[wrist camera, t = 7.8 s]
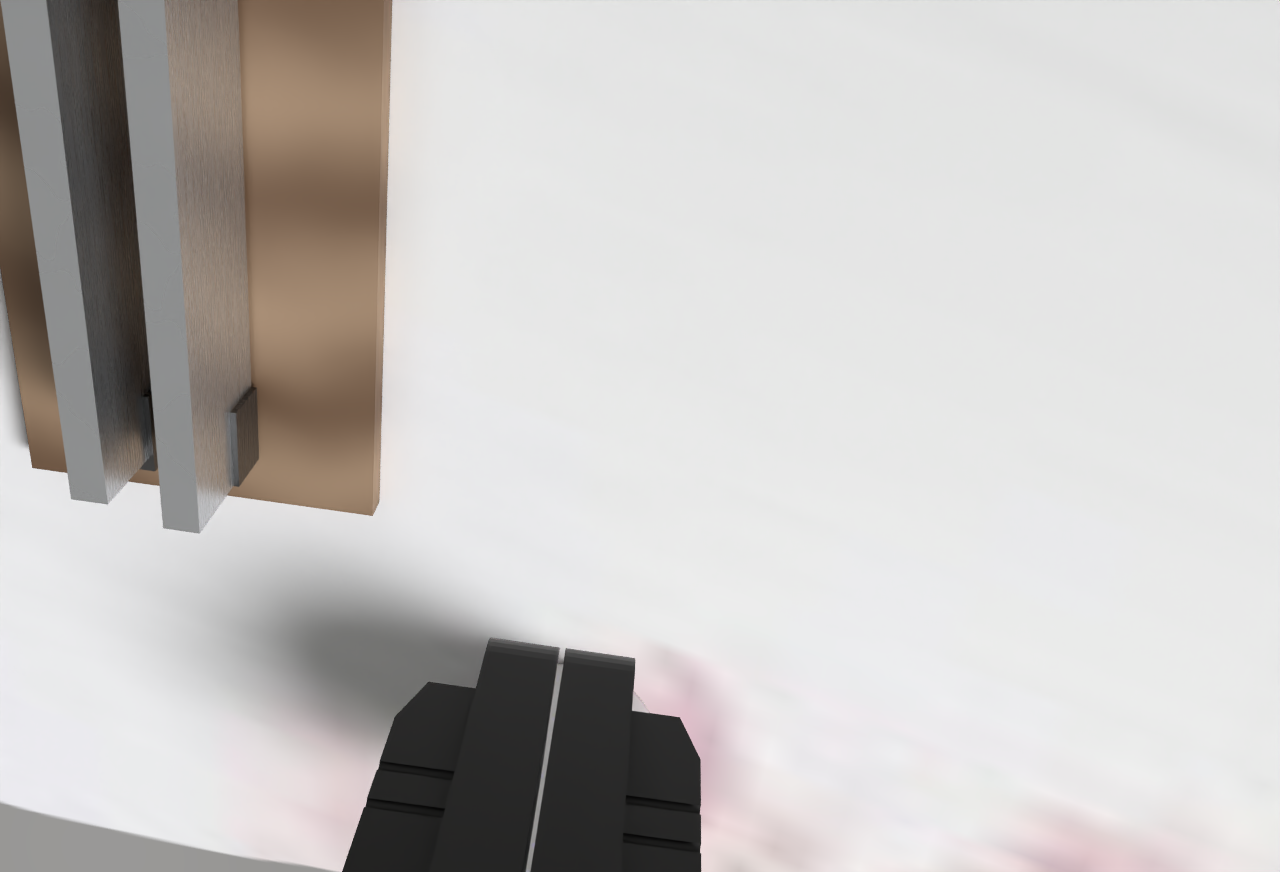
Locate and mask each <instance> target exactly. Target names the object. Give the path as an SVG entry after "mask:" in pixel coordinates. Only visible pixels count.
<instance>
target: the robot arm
mask: <svg viewBox="0 0 1280 872" xmlns="http://www.w3.org/2000/svg"><path fill="white" fill-rule="evenodd" d="M559 649H560V648H558V647H551V646H544V645H537V644H530V643H523V642H517V641H510V640H503V639H496V638H490V639H489V641H488V644H487V648H486V652H485V655H484V659H483V663H482V667H481V671H480V675H479V679H478V683H477V687H476V689H475V688H468V687H461V686H454V685H447V684H440V683H433V682H428V683H427V684H426V685H425V686H424V687H423V688H422V689H421V690H420V691H419V692H418V693H417V695H416V696H415V697H414V698H413V699H412V700H411V701H410V702H409V703H408V704H407V705H406V706H405V707H404V708H403V709H402V710H401V711H400V712H399V713H398V714H397V715H396V716H395V718H394V721H393V724H392V727H391V730H390V733H389V736H388V739H387V742H386V744H385V747H384V750H383V753H382V756H381V759H380V764H379V769H378V770H377V771H376V774H375V777H374V780H373V783H372V786H371V788H370V791H369V794H368V797H367V803H366V807H364V809H363V812H362V815H361V818H360V821H359V824H358V827H357V830H356V833H355V835H354V838H353V841H352V844H351V847H350V850H349V853H348V856H347V859H346V862H345V865H344V868H343V871H342V872H526V867H527V861H528V855H529V849H530V843H531V837H532V831H533V825H534V819H535V812H536V806H537V800H538V793H539V787H540V781H541V774H542V767H543V761H544V754H545V747H546V740H547V733H548V726H549V719H550V712H551V705H552V698H553V692H554V685H555V678H556V671H557V664H558V657H559ZM634 676H635V658H630V657H623V656H616V655H609V654H602V653H595V652H588V651H581V650H574V649H567V648H566V651H565V657H564V663H563V670H562V676H561V682H560V689H559V695H558V701H557V707H556V714H555V720H554V726H553V733H552V739H551V745H550V751H549V758H548V764H547V770H546V777H545V783H544V789H543V795H542V802H541V808H540V814H539V821H538V827H537V833H536V839H535V846H534V852H533V858H532V865H531V871H530V872H701V853H700V846H701V815H700V806H701V769H700V758H699V756H698V754H697V752H696V750H695V748H694V746H693V743H692V741H691V739H690V737H689V735H688V733H687V731H686V729H685V727H684V725H683V723H682V721H681V719H680V717H673V716H666V715H659V714H652V713H645V712H638V711H632V703H633V689H634Z"/></svg>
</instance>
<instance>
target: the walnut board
mask: <svg viewBox="0 0 1280 872" xmlns="http://www.w3.org/2000/svg"><path fill="white" fill-rule="evenodd" d="M238 21H239V49H240V78H241V107H242V135H243V164H244V192H245V221H246V249H247V278H248V306H249V335H250V364H251V387H256V388H257V407H258V438H259V460H258V461H257V463H256V464H255V465H254V467H253V468H252V470H251V471H250V472H249V474H248V475H247V477H246V478H245V479H244V481H243V482H242V484H241V485H240V487H237V486H233V488H232V489H231V490H230V492H229V493H228V496H235V497H243V498H250V499H257V500H264V501H271V502H278V503H285V504H292V505H299V506H306V507H313V508H321V509H328V510H335V511H342V512H349V513H356V514H363V515H370V516H373V514H374V512H375V510H376V508H377V505H378V503H379V490H380V451H381V412H382V374H383V335H384V296H385V257H386V218H387V179H388V140H389V101H390V62H391V23H392V0H238ZM0 269H1V275H2V281H3V288H4V294H5V300H6V306H7V313H8V319H9V325H10V331H11V337H12V344H13V350H14V356H15V362H16V369H17V375H18V381H19V387H20V394H21V400H22V406H23V412H24V419H25V425H26V431H27V437H28V444H29V450H30V456H31V462H32V468H37V469H44V470H51V471H58V472H65V473H68V472H67V465H66V458H65V451H64V444H63V437H62V430H61V423H60V416H59V409H58V402H57V395H56V388H55V381H54V374H53V367H52V360H51V353H50V345H49V338H48V331H47V324H46V317H45V310H44V303H43V296H42V289H41V282H40V275H39V268H38V261H37V254H36V247H35V240H34V233H33V226H32V219H31V212H30V204H29V197H28V190H27V183H26V176H25V169H24V162H23V155H22V148H21V141H20V134H19V127H18V120H17V113H16V106H15V99H14V92H13V85H12V78H11V70H10V63H9V56H8V49H7V42H6V35H5V28H4V21H3V14H2V7H1V0H0ZM129 482H136V483H143V484H150V485H157V486H160V484H159V472H158V469H157V470H156V471H148V470H141V469H139V470H138V471H137V472H136V473H135V474H134V475H133V477H132V478H131V479H130V480H129Z"/></svg>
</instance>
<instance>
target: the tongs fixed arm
mask: <svg viewBox="0 0 1280 872" xmlns="http://www.w3.org/2000/svg"><path fill="white" fill-rule="evenodd" d="M1 7H2V14H3V21H4V28H5V35H6V42H7V49H8V56H9V63H10V70H11V78H12V85H13V92H14V99H15V106H16V113H17V120H18V127H19V134H20V141H21V148H22V155H23V162H24V169H25V176H26V183H27V190H28V197H29V204H30V212H31V219H32V226H33V233H34V240H35V247H36V254H37V261H38V268H39V275H40V282H41V289H42V296H43V303H44V310H45V317H46V324H47V331H48V338H49V345H50V353H51V360H52V367H53V374H54V381H55V388H56V395H57V402H58V409H59V416H60V423H61V430H62V437H63V444H64V451H65V458H66V465H67V472H68V479H69V486H70V494H71V499H74V500H81V501H88V502H95V503H102V504H109V502H110V501H111V500H112V499H113V498H114V497H115V496H116V495H117V493H118V492H119V491H120V490H121V489H122V488H123V487H124V486H125V484H126V483H127V482H128V481H129V480H130V479H131V478H132V477H133V475H134V474H135V473H136V472H137V471H138V470H139V469H141V470H148V471H156V470H157V469H158V460H157V449H156V437H155V426H154V414H153V403H152V391H151V379H150V368H149V356H148V345H147V333H146V322H145V310H144V298H143V287H142V275H141V264H140V252H139V241H138V229H137V217H136V206H135V194H134V183H133V171H132V159H131V148H130V136H129V125H128V113H127V102H126V90H125V78H124V67H123V55H122V44H121V32H120V21H119V9H118V0H1Z"/></svg>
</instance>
